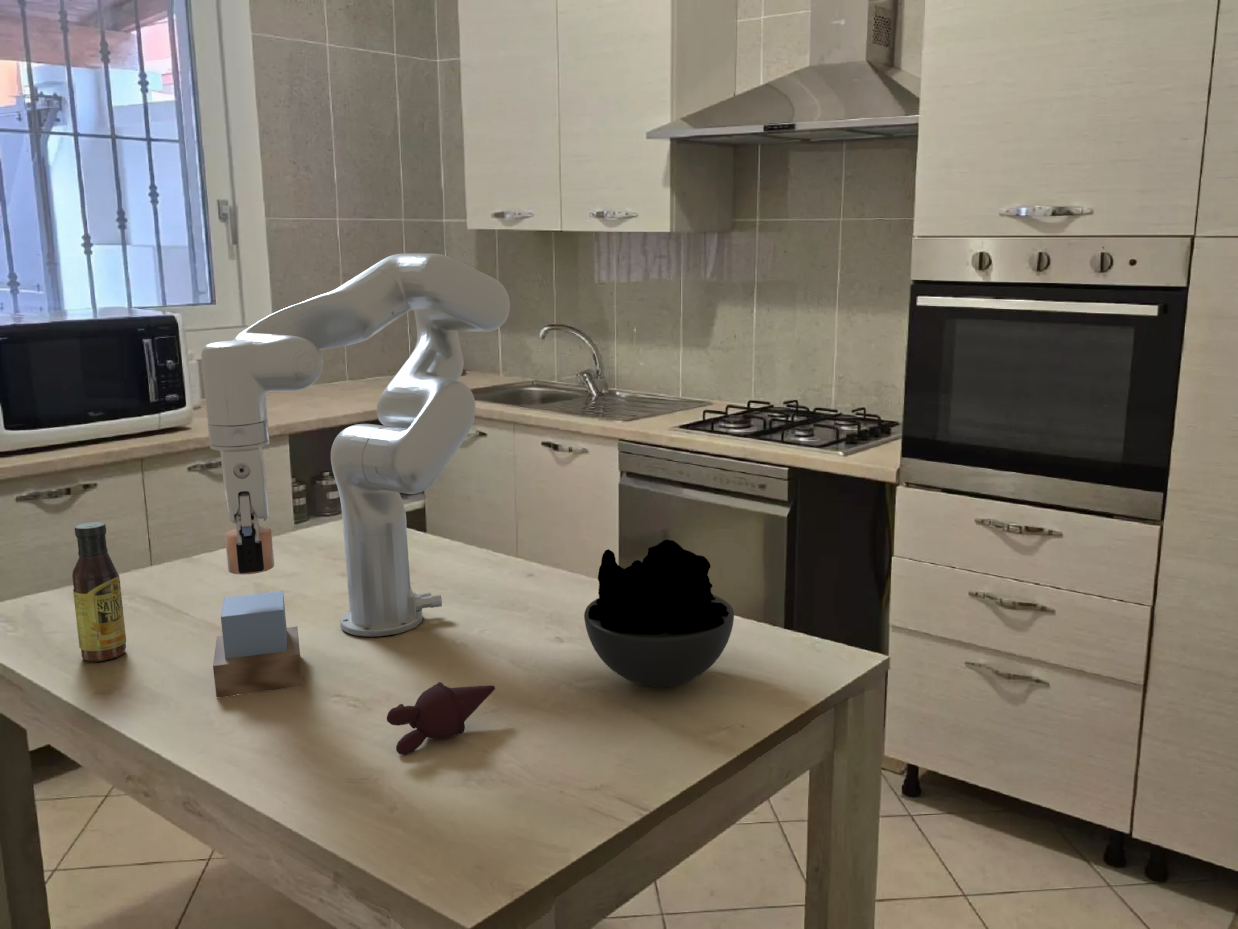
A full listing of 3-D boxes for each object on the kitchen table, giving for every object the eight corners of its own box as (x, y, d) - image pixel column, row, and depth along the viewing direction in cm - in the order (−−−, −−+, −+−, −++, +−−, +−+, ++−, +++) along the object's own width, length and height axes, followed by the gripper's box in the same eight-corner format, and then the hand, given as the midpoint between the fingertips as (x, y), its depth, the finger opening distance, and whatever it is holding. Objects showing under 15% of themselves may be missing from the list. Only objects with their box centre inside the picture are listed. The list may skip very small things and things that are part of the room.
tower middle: (286, 630, 155) (283, 590, 154) (287, 651, 148) (283, 609, 146) (227, 637, 153) (223, 597, 151) (225, 658, 145) (220, 616, 144)
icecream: (471, 659, 139) (369, 705, 129) (503, 662, 133) (399, 710, 124) (485, 710, 140) (385, 759, 130) (517, 715, 134) (415, 767, 124)
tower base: (300, 658, 158) (297, 626, 157) (302, 688, 147) (299, 654, 146) (220, 669, 154) (216, 636, 153) (216, 701, 144) (212, 666, 143)
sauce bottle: (109, 665, 156) (91, 532, 151) (71, 662, 157) (52, 531, 152) (138, 647, 162) (121, 520, 157) (101, 645, 163) (84, 518, 159)
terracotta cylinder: (273, 558, 151) (270, 524, 150) (274, 571, 146) (271, 535, 145) (228, 563, 150) (225, 528, 148) (227, 576, 144) (224, 540, 143)
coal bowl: (748, 661, 152) (749, 533, 148) (711, 722, 134) (711, 578, 130) (615, 645, 159) (613, 522, 155) (563, 701, 141) (558, 564, 137)
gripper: (270, 444, 137) (282, 580, 141) (267, 422, 153) (278, 544, 157) (206, 449, 135) (220, 587, 138) (211, 426, 150) (223, 550, 154)
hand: (251, 563), depth 148 cm, fingers closed on terracotta cylinder, 6 cm apart
